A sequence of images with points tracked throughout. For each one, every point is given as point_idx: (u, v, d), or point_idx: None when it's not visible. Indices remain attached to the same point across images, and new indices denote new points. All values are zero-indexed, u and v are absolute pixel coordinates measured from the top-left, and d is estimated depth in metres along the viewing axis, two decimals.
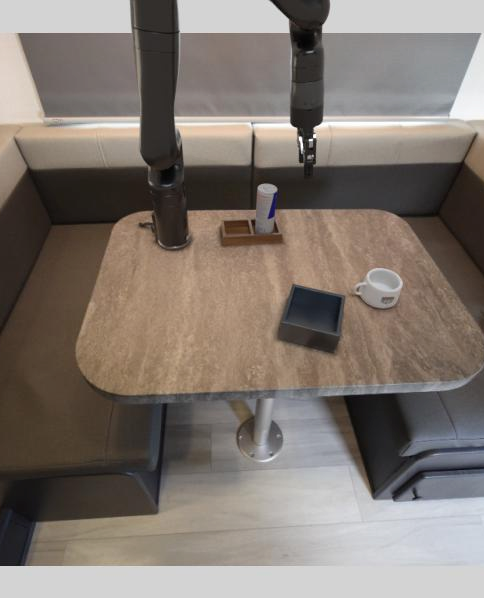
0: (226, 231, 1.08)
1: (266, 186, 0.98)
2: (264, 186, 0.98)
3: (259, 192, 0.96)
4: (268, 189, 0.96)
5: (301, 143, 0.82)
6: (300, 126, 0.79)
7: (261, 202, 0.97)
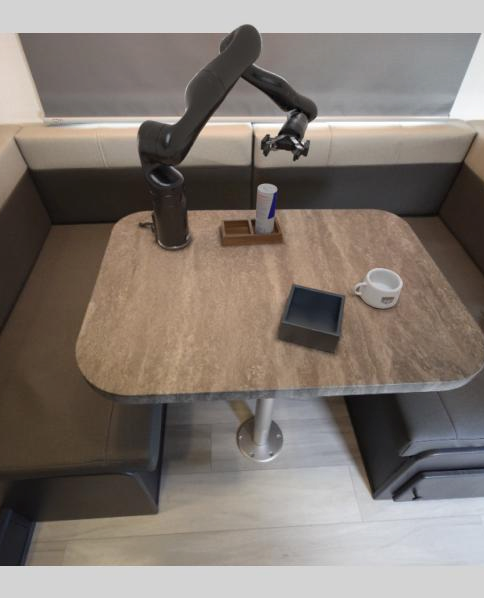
0: (226, 231, 1.08)
1: (266, 186, 0.98)
2: (264, 186, 0.98)
3: (259, 192, 0.96)
4: (268, 189, 0.96)
5: None
6: (300, 134, 1.06)
7: (261, 202, 0.97)
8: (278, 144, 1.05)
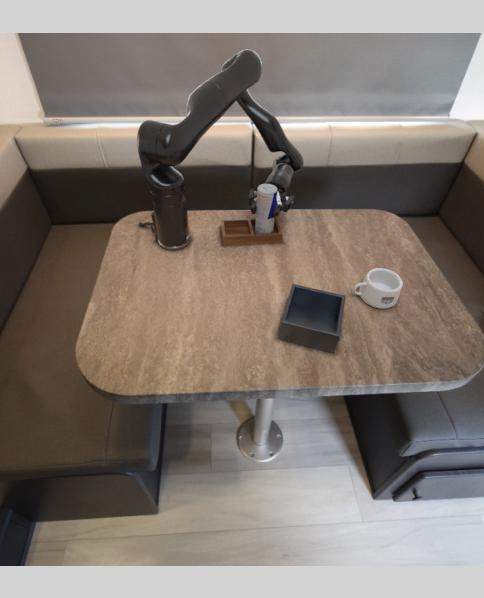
0: (226, 231, 1.08)
1: (266, 186, 0.98)
2: (264, 186, 0.98)
3: (259, 192, 0.96)
4: (268, 189, 0.96)
5: None
6: (285, 188, 1.06)
7: (261, 202, 0.97)
8: None
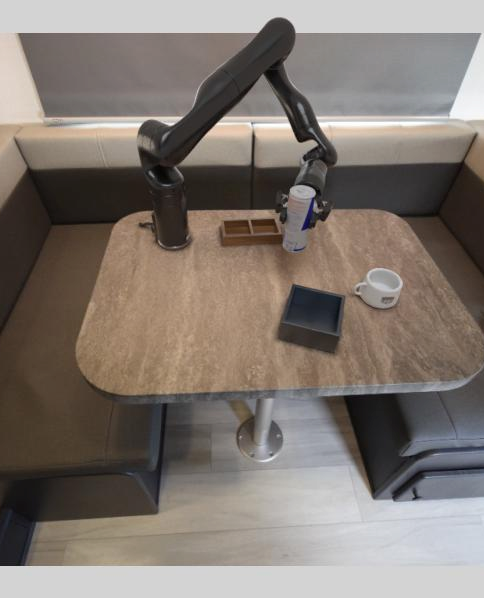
0: (226, 231, 1.08)
1: (301, 189, 0.75)
2: (298, 189, 0.75)
3: (292, 197, 0.74)
4: (304, 193, 0.74)
5: None
6: (320, 190, 0.84)
7: (295, 209, 0.75)
8: None
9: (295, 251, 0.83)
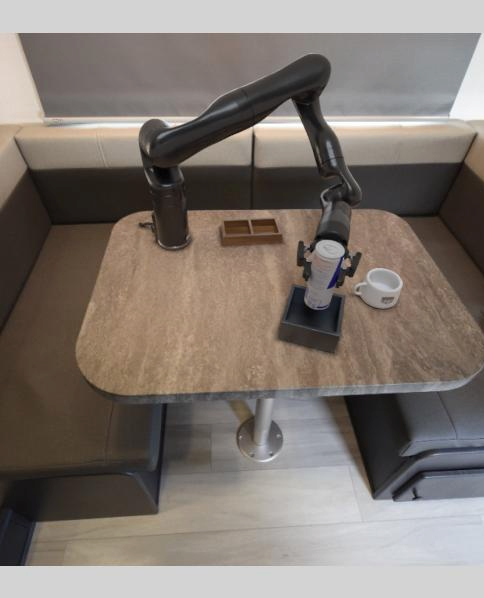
0: (226, 231, 1.08)
1: (328, 245, 0.67)
2: (325, 245, 0.67)
3: (319, 255, 0.66)
4: (332, 250, 0.66)
5: None
6: (347, 240, 0.76)
7: (321, 268, 0.67)
8: None
9: (319, 308, 0.75)
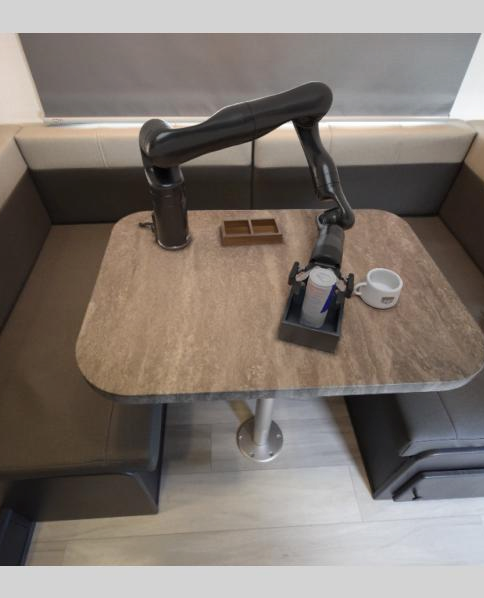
0: (226, 231, 1.08)
1: (321, 273, 0.72)
2: (318, 273, 0.72)
3: (312, 283, 0.71)
4: (324, 278, 0.71)
5: None
6: (339, 263, 0.80)
7: (314, 294, 0.72)
8: None
9: None
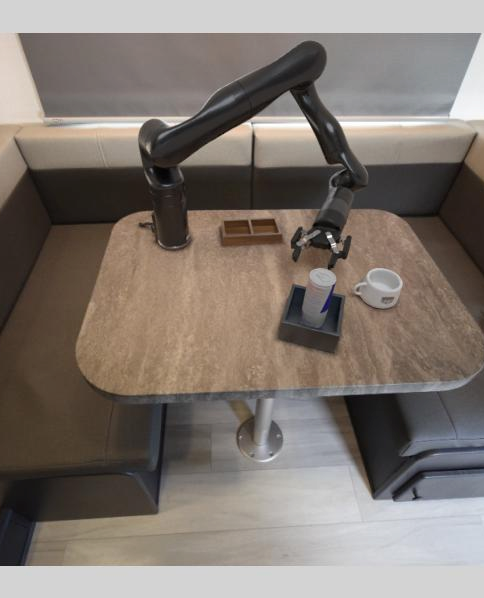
0: (226, 231, 1.08)
1: (321, 273, 0.72)
2: (318, 273, 0.72)
3: (312, 283, 0.71)
4: (324, 278, 0.71)
5: (332, 238, 0.86)
6: (339, 226, 0.87)
7: (314, 294, 0.72)
8: (311, 242, 0.87)
9: None
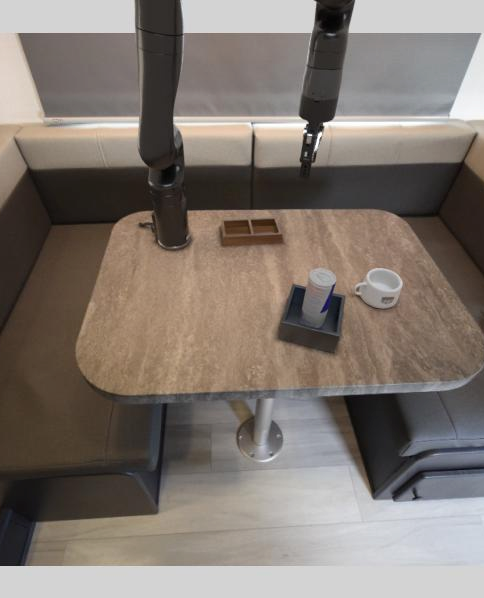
0: (226, 231, 1.08)
1: (321, 273, 0.72)
2: (318, 273, 0.72)
3: (312, 283, 0.71)
4: (324, 278, 0.71)
5: None
6: (305, 117, 0.71)
7: (314, 294, 0.72)
8: None
9: None
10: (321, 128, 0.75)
